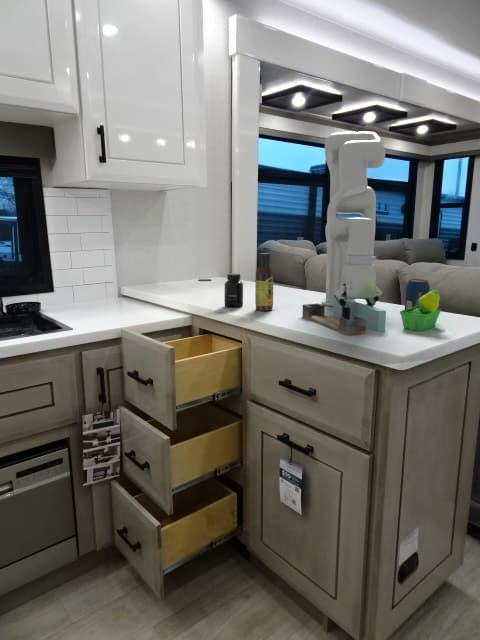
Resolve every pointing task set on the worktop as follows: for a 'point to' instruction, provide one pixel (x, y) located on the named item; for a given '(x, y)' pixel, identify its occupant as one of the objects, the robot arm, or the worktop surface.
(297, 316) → the worktop surface
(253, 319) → the worktop surface
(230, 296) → the supplement bottle
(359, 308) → the slat
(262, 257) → the sauce bottle
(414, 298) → the soda can
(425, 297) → the fruit basket
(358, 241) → the robot arm
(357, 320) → the endcap rail
